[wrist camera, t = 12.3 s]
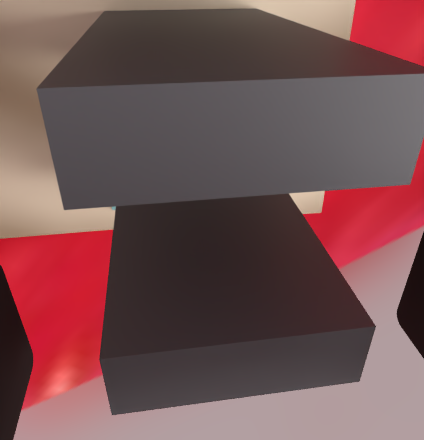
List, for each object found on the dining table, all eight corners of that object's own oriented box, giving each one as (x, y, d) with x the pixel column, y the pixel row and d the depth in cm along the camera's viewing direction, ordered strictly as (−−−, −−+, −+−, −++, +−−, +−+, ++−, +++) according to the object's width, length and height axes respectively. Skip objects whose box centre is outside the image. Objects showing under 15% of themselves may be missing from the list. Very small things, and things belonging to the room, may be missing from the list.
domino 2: (122, 144, 15) (99, 359, 7) (251, 137, 16) (376, 326, 8) (127, 182, 16) (111, 415, 8) (249, 174, 17) (359, 381, 8)
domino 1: (104, 10, 13) (36, 88, 5) (256, 8, 14) (441, 72, 5) (110, 63, 14) (64, 210, 5) (253, 58, 14) (410, 184, 6)
